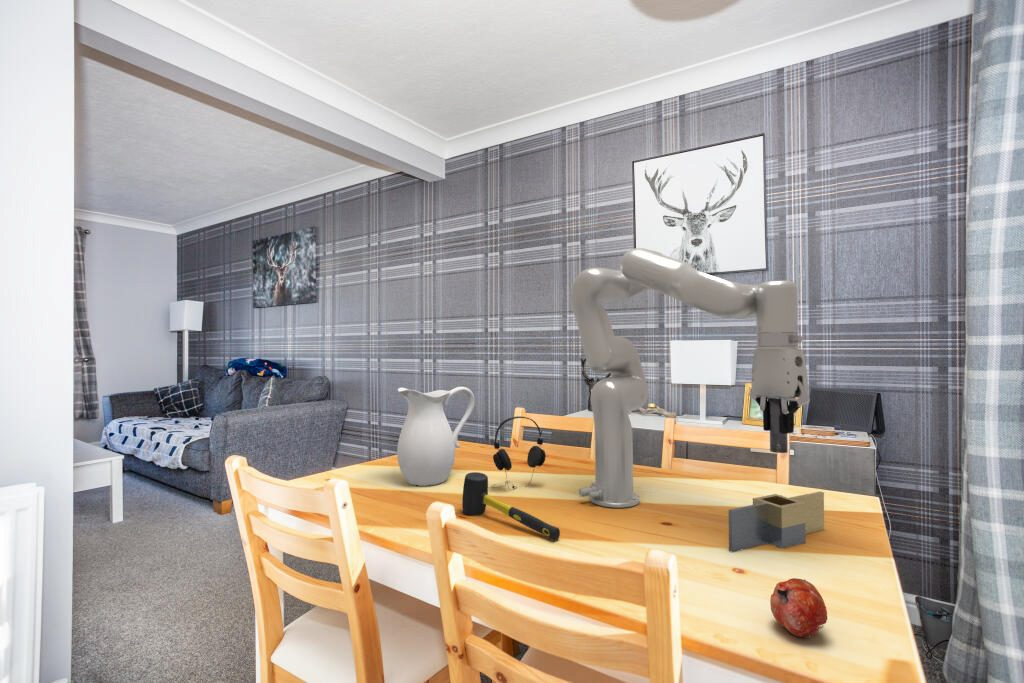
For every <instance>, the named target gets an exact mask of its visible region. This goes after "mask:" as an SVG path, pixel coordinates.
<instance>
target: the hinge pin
mask: <svg viewBox="0 0 1024 683" xmlns="http://www.w3.org/2000/svg"><path fill="white" fill-rule="evenodd" d="M766 398H769V411H770V431H769V452H772V453H777V454H787V453H788V452H789V450H788V444H789V443H788V440H789V439H788V433H787V434H781V433H780V414H782V413H783V412H782V405H781V398H779V397H776V396H774V395H773V393H768V395H767V396H766Z"/></svg>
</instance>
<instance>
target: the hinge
mask: <svg viewBox="0 0 1024 683" xmlns="http://www.w3.org/2000/svg"><path fill="white" fill-rule="evenodd" d="M824 530H825V492H823V491H816V492H811V493H805V494H800V495H795V496H791V497H790V496H789V497H788V496H787V497H786V496H783V495H780V494H777V493H774V494H773V493H772V494H768V495H763V496H758V497H753V498H752V504H750V505H745V506H740V507H736V508H730V509H728V552H731V551H732V552H731V553H734V551H735V552H738V550H739V551H742V550H741V549H743V550H746V548H747V549H750V548H749V547H751V548H755V547H759V546H763V544H764V545H767V543H768V544H770V545H772V546H774V545H775V547H777V548H779V547H780V549H782V548H783V549H786V548H785V547H787V548H789V547H794V546H798V545H801V544H806V535H807V534H808V535H809V534H812V533H815V532H817V533H818V532H820V531H824Z"/></svg>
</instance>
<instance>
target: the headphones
mask: <svg viewBox="0 0 1024 683" xmlns="http://www.w3.org/2000/svg"><path fill="white" fill-rule="evenodd" d="M515 419H526V420H530V421H531V422H533V423H534V425H535V426H536V428H537V430H538V433H539V437H538V438H537V441H536V444H537V445H532V447H531V448H530V449H529V450H528V454H527V459H526V462H527V466H528V467H529V468H533V470H532V472H534V470H535V468H536V467H541V466H543V465H544V464H545V461H546V457H547V456H546V451H545V450H544V449H542V448H541V447H540V446H543V442H544V439H543V438H542V436H543V430H541V429H540V427H539V425H538V423H537V422H536V421H535V420H534V419H532V418H529V417H526V416H518V415H517V416H512V417H509V418H507V419H505V420H503V421H502V422H501V423H500V424H499V425H498V427H497V429H496V432H495V435H494V442H493V447H494V448H493V449H495V450H497V451H496V453H494V454H493V455H492V459H493V460H492V461H493V463H494V465H495V467H496V468H497V470H498V471H501V472H502V471H503V470H504V471H505V475H506V478H508V476H507V471H510V470H511V469H512V467H513V466H512V465H513V464H512V461H511V458H510V456H509V454H508V452H507V451H506V450H505V449H504V448H501V447H500V442H499V441H498V433H499V431H500V429H501V428H502V427H503V426H504V424H505V423H507V422H509V421H513V420H515ZM538 445H539V446H538ZM533 474H534V473H532V474H531V476H533ZM532 479H533V478H530V481H529V483H528V484H527V485H526V487H528V486H529V485H530V483H531V481H532ZM506 486H507V487H508V489H509V490H510V491H511V489H512V488H514V487H516V486H514V485H512V488H511V489H510V488H509V481H506ZM514 489H515V488H514Z"/></svg>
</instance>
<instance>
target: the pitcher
mask: <svg viewBox="0 0 1024 683" xmlns="http://www.w3.org/2000/svg"><path fill="white" fill-rule="evenodd" d="M397 392H398V393H399V394H400V395H401V396H402V397H404V398H405V400H406V402H407V405H408V407H407V414H406V417H405V419H404V421H403V424H402V427H401V430H400V434H399V438H398V441H397V447H396V448H397V450H396V453H397V454H396V455H397V463H398V466H399V469H400V472H401V474H402V475H403V477H404V479H405V480H406V482H407V483H408V484H409V483H410V485H412V486H416V485H418V486H419V487H429V485H430V486H435V485H440V484H442V483H443V482H445V481H447V479H448V477H449V476H450V474H451V473H452V470H453V467H454V465H455V464H454V463H455V458H456V448H457V449H460V448H461V446H460V444H459V442H458V437H459V434H460V433H461V431H462V428H463V427H464V425H465V424H466V423H467V420H468V419H469V418H470V416H471V414H472V412H473V410H474V407H475V404H476V398H475V395H474V393H473V391H472V390H471V389H470V388H468V387H465V386H457V387H454V388H452V389H451V390H445V389H444V390H443V389H437V390H434V391H429V392H421V391H418V390H415V389H409V388H405V387H403V386H402V387H399V388H398V389H397ZM457 393H464V394H466V396H467V397H468V405H467V408H466V411H465V413H464V414H463V416H462V417H461V419H460V421H459V423H457V425H456V427H455V429H454V431H452V428H451V426H450V422H449V420H448V419H447V417H446V415H445V414H446V413H445V412H444V406H445V407H446V406H448V404H449V400H450V399H451V398H452V397H453V396H454V395H456V394H457Z"/></svg>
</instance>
